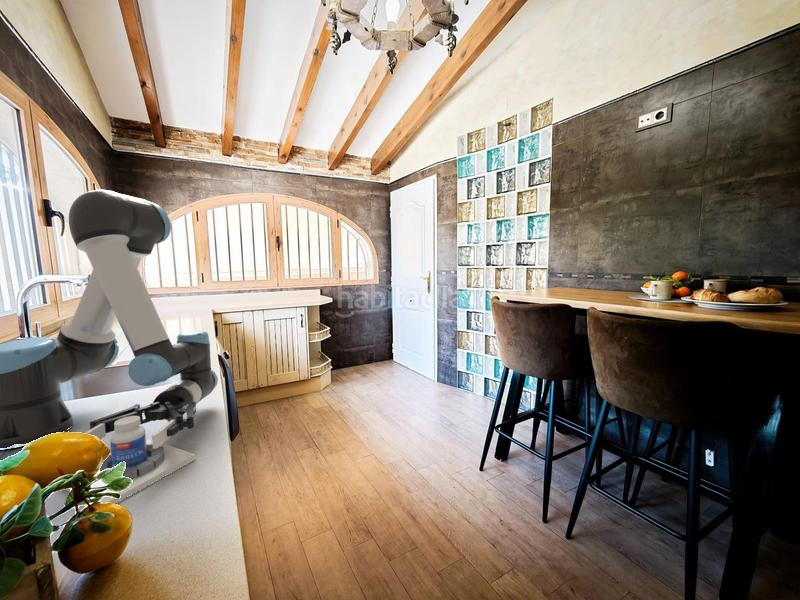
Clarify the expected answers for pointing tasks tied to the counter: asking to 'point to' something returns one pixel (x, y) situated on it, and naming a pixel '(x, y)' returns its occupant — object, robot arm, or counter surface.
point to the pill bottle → (128, 442)
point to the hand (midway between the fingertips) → (115, 444)
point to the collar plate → (158, 473)
